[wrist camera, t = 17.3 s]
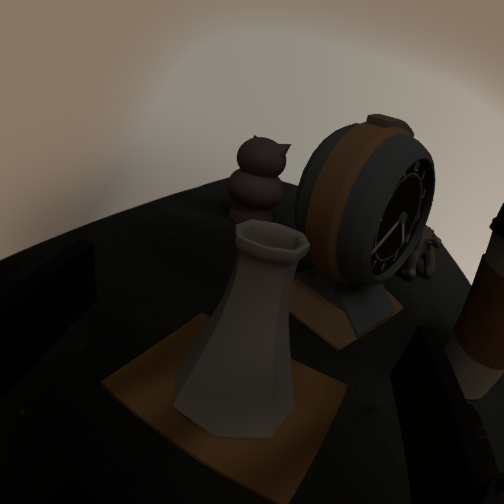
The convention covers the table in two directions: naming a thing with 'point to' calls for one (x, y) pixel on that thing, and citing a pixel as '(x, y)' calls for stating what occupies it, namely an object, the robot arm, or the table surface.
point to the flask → (246, 340)
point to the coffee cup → (482, 322)
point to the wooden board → (230, 448)
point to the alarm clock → (359, 225)
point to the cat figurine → (257, 180)
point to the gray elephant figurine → (422, 255)
